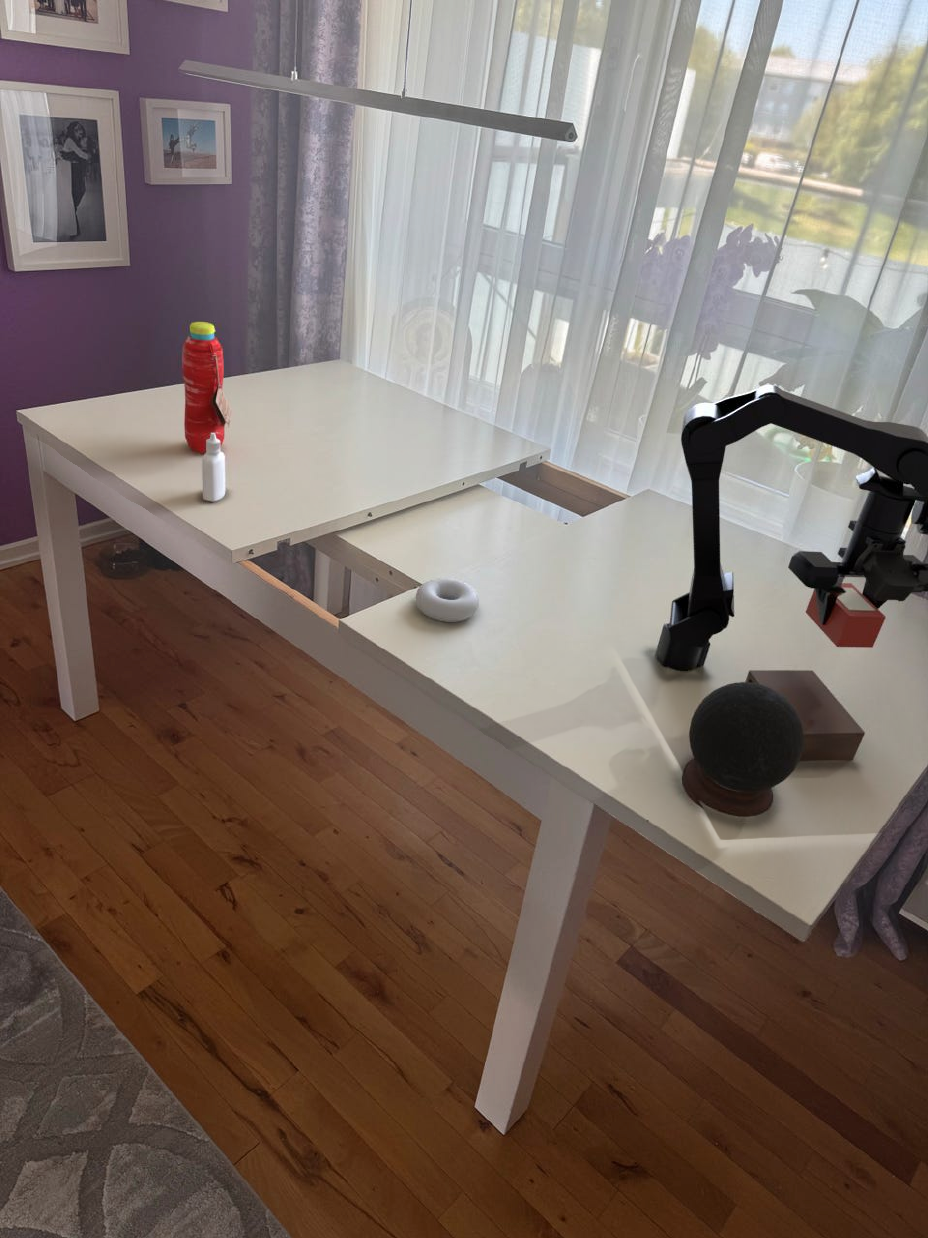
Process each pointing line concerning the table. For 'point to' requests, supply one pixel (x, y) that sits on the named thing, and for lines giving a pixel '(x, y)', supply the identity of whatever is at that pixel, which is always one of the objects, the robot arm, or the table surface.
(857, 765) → the table surface
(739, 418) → the robot arm
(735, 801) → the sphere on wooden stand
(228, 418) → the water bottle
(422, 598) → the donut
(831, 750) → the block
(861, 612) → the carton
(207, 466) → the eye dropper bottle
